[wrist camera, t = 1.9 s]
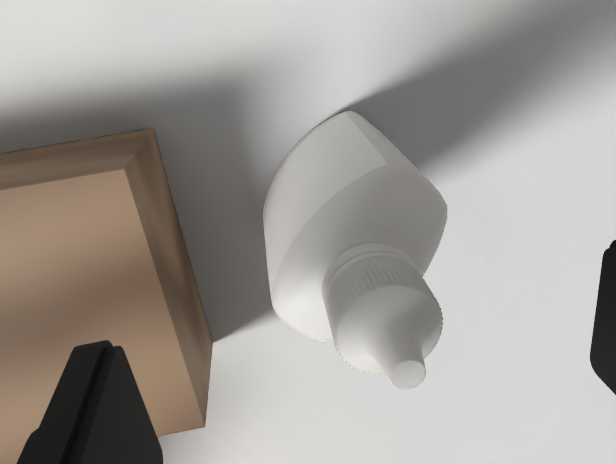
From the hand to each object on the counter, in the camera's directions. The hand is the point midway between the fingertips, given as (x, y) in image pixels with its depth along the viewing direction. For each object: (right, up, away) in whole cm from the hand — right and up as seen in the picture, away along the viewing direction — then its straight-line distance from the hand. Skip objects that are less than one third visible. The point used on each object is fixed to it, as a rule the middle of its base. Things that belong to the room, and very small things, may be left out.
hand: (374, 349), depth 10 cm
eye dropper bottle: (-1, +5, +11) cm, 12 cm away
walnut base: (-11, +1, +11) cm, 16 cm away
